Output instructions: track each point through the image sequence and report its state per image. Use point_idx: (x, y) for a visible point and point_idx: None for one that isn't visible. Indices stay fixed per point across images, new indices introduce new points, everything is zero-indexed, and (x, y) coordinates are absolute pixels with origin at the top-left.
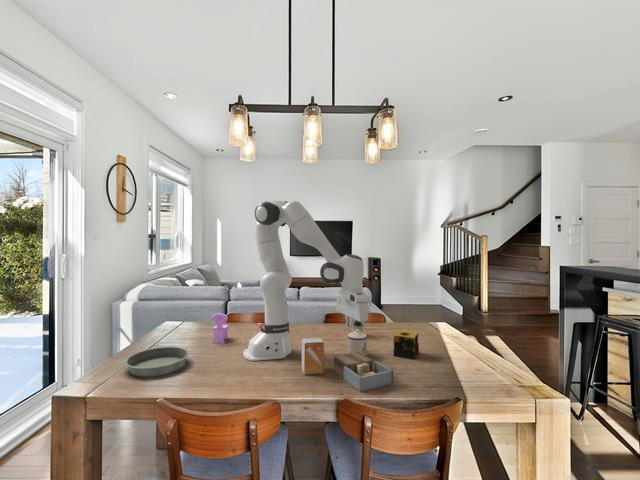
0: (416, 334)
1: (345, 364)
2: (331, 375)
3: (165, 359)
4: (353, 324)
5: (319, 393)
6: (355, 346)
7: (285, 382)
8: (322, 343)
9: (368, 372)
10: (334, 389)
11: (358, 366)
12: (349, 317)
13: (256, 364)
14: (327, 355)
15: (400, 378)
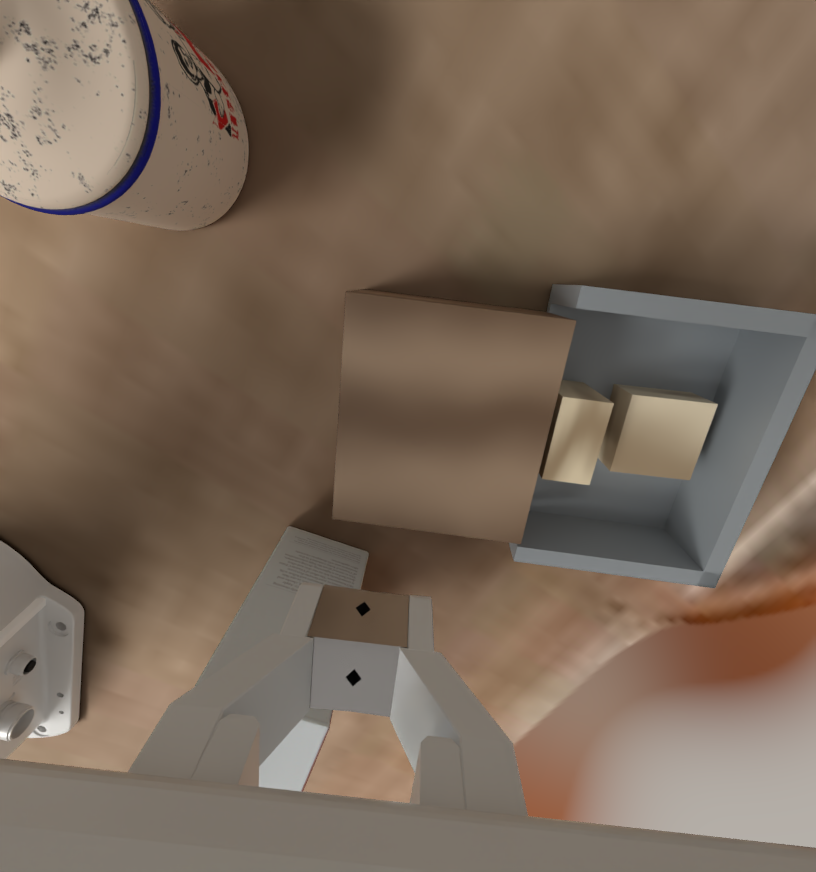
0: None
1: (499, 539)
2: (416, 533)
3: None
4: (433, 643)
5: (546, 670)
6: (179, 192)
7: (368, 715)
8: (330, 721)
9: (626, 425)
10: (559, 607)
11: (576, 482)
12: (256, 767)
13: (124, 720)
14: (114, 374)
15: (745, 185)
